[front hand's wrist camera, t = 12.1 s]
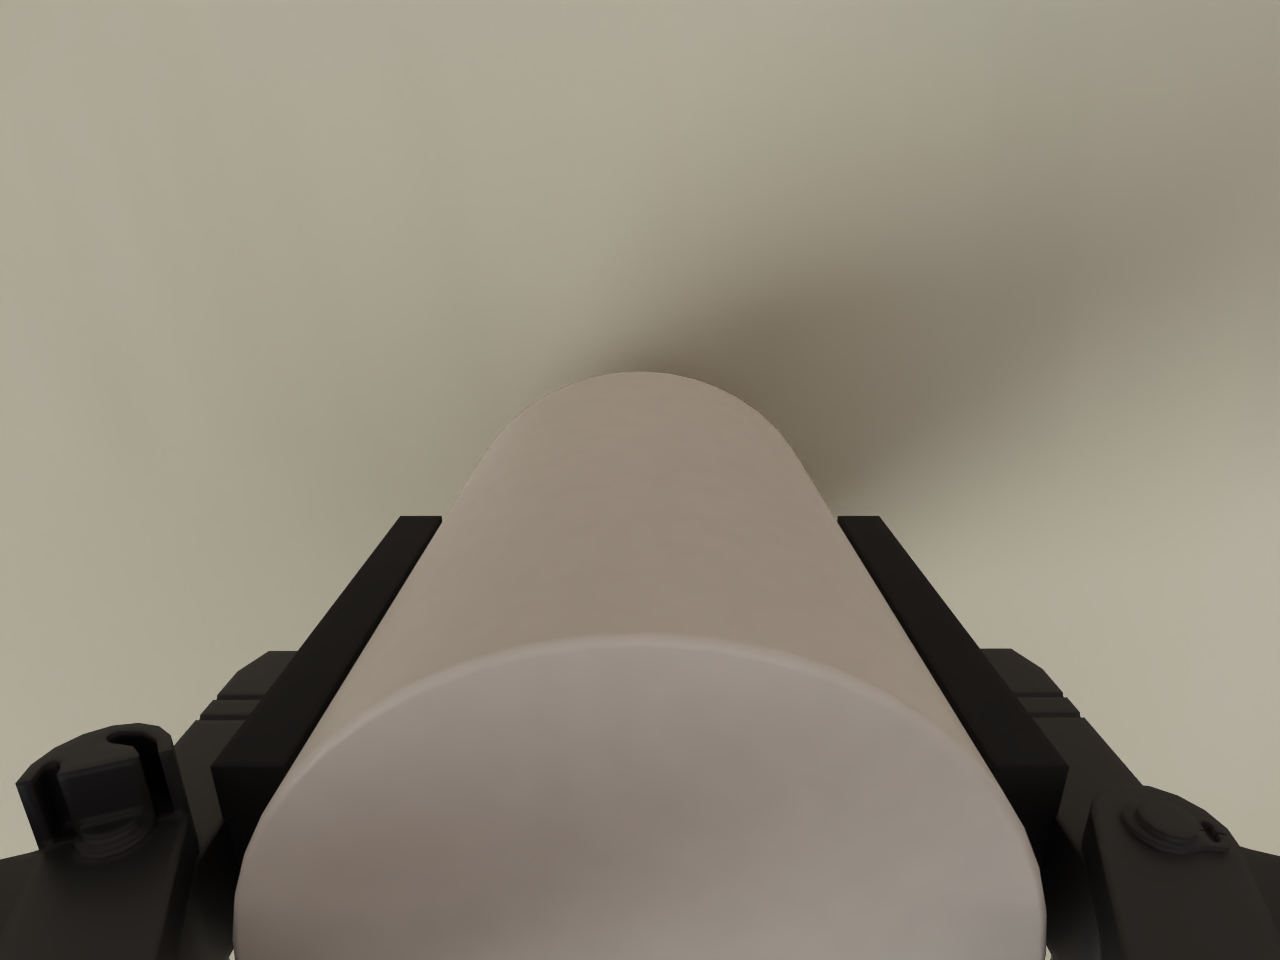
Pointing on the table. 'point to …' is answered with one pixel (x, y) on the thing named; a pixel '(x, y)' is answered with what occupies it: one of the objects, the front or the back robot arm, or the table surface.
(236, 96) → the table surface
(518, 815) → the can
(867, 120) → the table surface
